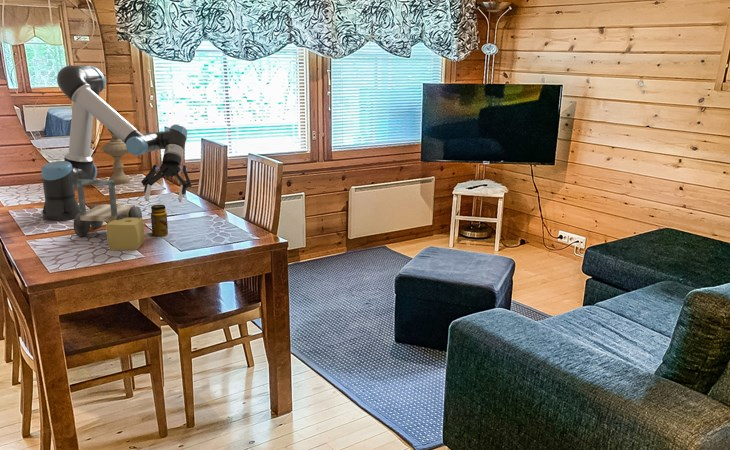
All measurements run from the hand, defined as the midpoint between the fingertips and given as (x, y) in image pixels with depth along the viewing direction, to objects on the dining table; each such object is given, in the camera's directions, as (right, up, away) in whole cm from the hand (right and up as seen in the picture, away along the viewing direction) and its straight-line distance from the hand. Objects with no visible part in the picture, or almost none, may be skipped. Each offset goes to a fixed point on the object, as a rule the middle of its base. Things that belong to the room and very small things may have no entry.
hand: (162, 200), depth 232 cm
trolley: (-21, -13, -2) cm, 24 cm away
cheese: (-7, -18, -18) cm, 27 cm away
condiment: (-1, -14, -4) cm, 15 cm away
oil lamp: (-55, +13, +87) cm, 104 cm away
